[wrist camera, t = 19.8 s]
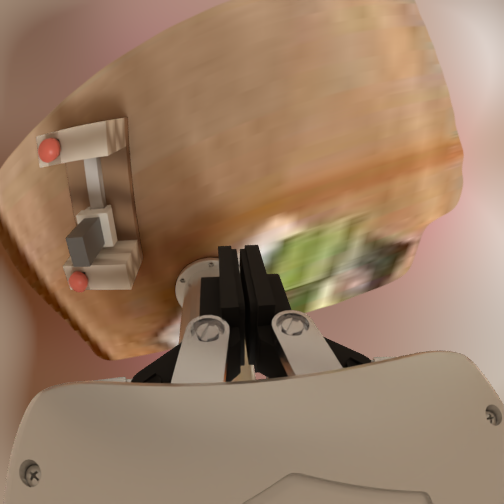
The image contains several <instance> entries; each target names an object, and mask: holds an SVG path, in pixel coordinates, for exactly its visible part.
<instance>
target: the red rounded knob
mask: <svg viewBox="0 0 504 504" xmlns="http://www.w3.org/2000/svg"><path fill="white" fill-rule="evenodd" d="M38 154H39V157H40V159H41V160H42V161H43V162H46V163H49V162H51V161H53V160H55V159H57V158H58V156H59V154H60V144H59V141H58V140H57V139H55V138H49V139H45V140H43V141H42V142H41V144H40V145H39V149H38Z"/></svg>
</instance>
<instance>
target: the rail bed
mask: <svg viewBox="0 0 504 504" xmlns="http://www.w3.org/2000/svg"><path fill="white" fill-rule="evenodd" d="M49 138H55V139H57V140H58V141H59V144H60V154H59V156H58V158H57V159H55V160H53V161H51V162H49V163H46V162H43V161H42V160H41V159H40V157H39V154H38V158H39V165H40V168H41V167H46V166H50V165H55V164H61V163H65V164H66V171H67V178H68V184H69V191H70V196H71V202H72V207H73V212H74V217H75V221H76V226H77V225H78V223H77V219H76V215H77V214H78V213H79V212H80V211H81V210H85V209H87V208H88V207H91V209H101V208H105V207H106V206H107V205H111V208H112V212H113V218H114V224H115V229H116V235H117V242H116V243H115V245H114V247H103V248H102V249H101V251H100V252H99V254H98V255H97V257H96V258H95V260H94V261H93V263H92V265H91V266H90V267H74V266H73V263H72V260H71V256H70V257H69V258H68V260H67V261H66V262H65V264H64V265H63V269H64V272H65V275H66V278H67V281H68V283H69V278H70V276H71V275H72V273H73V272H75V271H79V272H85V275H86V277H87V278H88V286H87V287H86V289H85V290H131V289H132V286H133V284H134V281H135V278H136V276H137V273H138V270H139V268H140V265H141V263H142V260H143V254H142V248H141V242H140V236H139V230H138V223H137V216H136V209H135V201H134V193H133V184H132V174H131V163H130V151H129V136H128V117H125V118H118V119H112V120H106V121H100V122H95V123H89V124H84V125H79V126H75V127H70V128H66V129H62V130H58V131H54V132H51V133H47V134H44V135H40V136H37V137H36V139H37V149H39V145H40V144H41V142H42V141H43V140H45V139H49ZM69 286H70V285H69ZM70 289H71V290H73V289H72V288H71V287H70Z"/></svg>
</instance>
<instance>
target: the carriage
mask: <svg viewBox="0 0 504 504" xmlns="http://www.w3.org/2000/svg"><path fill="white" fill-rule="evenodd" d="M76 219H77V223H78V225H77V226H76V227H75V228H74V230H73V231H72V232H71V233H70V234H69V235H68V236H67V237H66V242H67V245H68V249H69V253H70V256H71V260H72V263H73V266H74V267H90V266H91V265H92V263H93V261H94V260H95V258H96V257H97V255H98V254H99V252H100V251H101V249H102V248H103V247H114V245H115V243H116V242H117V235H116V229H115V224H114V218H113V212H112V208H111V205H107V206H106V207H105V208H101V209H91V207H88V208H87V209H85V210H81V211H80V212H79V213H78V214H77V215H76Z"/></svg>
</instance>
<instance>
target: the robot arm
mask: <svg viewBox="0 0 504 504" xmlns="http://www.w3.org/2000/svg"><path fill="white" fill-rule="evenodd" d="M218 254H219V258H204V259H200V260H197V261H194V262H192V263H191V264H189V265H188V266H186V267H185V268H184V269H183V270H182V272H181V273H180V274H179V276H178V279H177V282H176V288H175V293H176V298H177V300H178V302H179V304H180V305H181V307H182V317H181V326H180V337H179V345H177V346H176V347H174V348H173V349H171V350H170V351H169V352H167V353H166V354H164V355H163V356H161V357H160V358H159V359H157V360H156V361H154V362H153V363H151V364H150V365H148V366H147V367H145V368H144V369H142V370H141V371H140V372H138V373H137V374H136V375H135V376H134V377H133V379H126V378H125V377H119V378H111V379H103V380H94V381H79V382H70V383H65V384H60V385H55V386H52V387H49V388H47V389H45V390H43V391H41V392H40V393H38V394H37V395H36V396H35V397H34V398H33V400H32V401H31V403H30V404H29V406H28V407H27V409H26V411H25V414H24V416H23V418H22V420H21V423H20V426H19V428H18V431H17V435H16V438H15V442H14V445H13V448H12V452H11V457H10V462H9V468H8V473H7V479H6V485H5V493H4V502H3V504H504V405H503V403H502V401H501V400H500V398H499V396H498V395H497V393H496V392H495V390H494V389H493V387H492V386H491V384H490V383H489V381H488V380H487V378H486V377H485V376H484V374H483V373H482V372H481V371H480V369H479V368H478V367H477V366H476V365H475V364H474V363H473V362H472V361H471V360H470V359H469V358H468V357H466V356H465V355H463V354H460V353H456V352H451V351H426V352H419V353H414V354H409V355H405V356H399V357H374V359H373V360H370V359H369V358H367V357H366V356H364V355H362V354H360V353H358V352H356V351H353V350H351V349H349V348H347V347H344V346H342V345H340V344H338V343H335V342H333V341H331V340H329V339H327V338H325V337H323V336H322V334H321V333H320V332H319V330H318V328H317V327H316V325H315V323H314V322H313V320H312V319H311V318H310V317H309V316H308V315H306V314H305V313H303V312H300V311H295V310H291V307H290V305H289V302H288V299H287V296H286V293H285V290H284V288H283V285H282V282H281V279H280V276H279V274H266V270H265V267H264V263H263V260H262V257H261V253H260V250H259V247H258V245H245V249H240V267H239V264H238V258H237V251H236V249H231V246H218ZM253 365H254V366H253ZM254 369H255V372H254ZM256 372H260V373H261V374H263V375H265V376H266V379H259V380H256V377H255V373H256Z"/></svg>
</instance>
